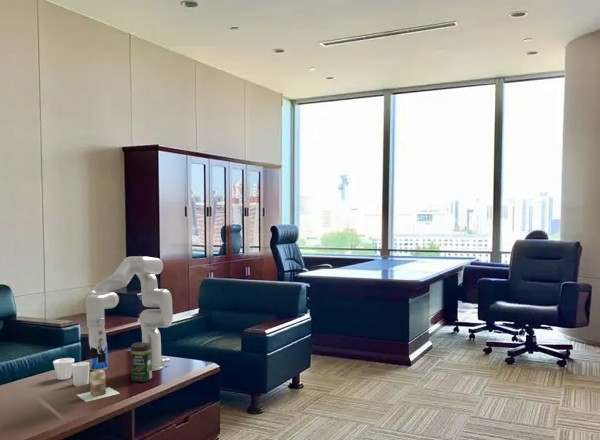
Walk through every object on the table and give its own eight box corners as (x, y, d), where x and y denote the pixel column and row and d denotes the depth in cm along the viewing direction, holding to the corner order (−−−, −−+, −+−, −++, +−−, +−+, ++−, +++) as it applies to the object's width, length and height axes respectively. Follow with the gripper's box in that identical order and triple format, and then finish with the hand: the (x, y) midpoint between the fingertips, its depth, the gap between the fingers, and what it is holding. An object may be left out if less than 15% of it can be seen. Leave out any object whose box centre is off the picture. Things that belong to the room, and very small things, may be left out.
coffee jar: (128, 382, 256) (127, 344, 256) (136, 377, 264) (135, 340, 264) (147, 382, 254) (145, 344, 255) (154, 377, 262) (153, 340, 262)
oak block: (101, 380, 239) (101, 369, 239) (105, 382, 235) (105, 371, 235) (90, 383, 236) (90, 372, 236) (94, 385, 232) (93, 374, 232)
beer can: (90, 368, 283) (89, 339, 284) (107, 366, 287) (106, 337, 287) (91, 372, 276) (90, 342, 276) (108, 370, 279) (107, 340, 279)
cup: (78, 375, 271) (78, 357, 271) (68, 381, 261) (67, 363, 261) (60, 375, 272) (59, 358, 272) (49, 381, 262) (48, 363, 262)
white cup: (69, 385, 254) (68, 365, 254) (82, 381, 261) (81, 361, 261) (80, 387, 250) (79, 366, 251) (93, 382, 257) (92, 362, 257)
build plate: (109, 389, 245) (109, 387, 245) (120, 396, 235) (120, 393, 235) (76, 397, 235) (76, 394, 235) (86, 404, 226) (86, 401, 226)
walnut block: (101, 391, 239) (101, 380, 239) (105, 394, 235) (105, 382, 235) (90, 394, 236) (90, 383, 236) (94, 396, 232) (94, 385, 232)
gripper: (111, 323, 232) (113, 361, 232) (97, 318, 245) (99, 354, 245) (94, 326, 227) (96, 365, 227) (81, 321, 240) (83, 358, 240)
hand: (97, 360), depth 236 cm, fingers open, 9 cm apart
